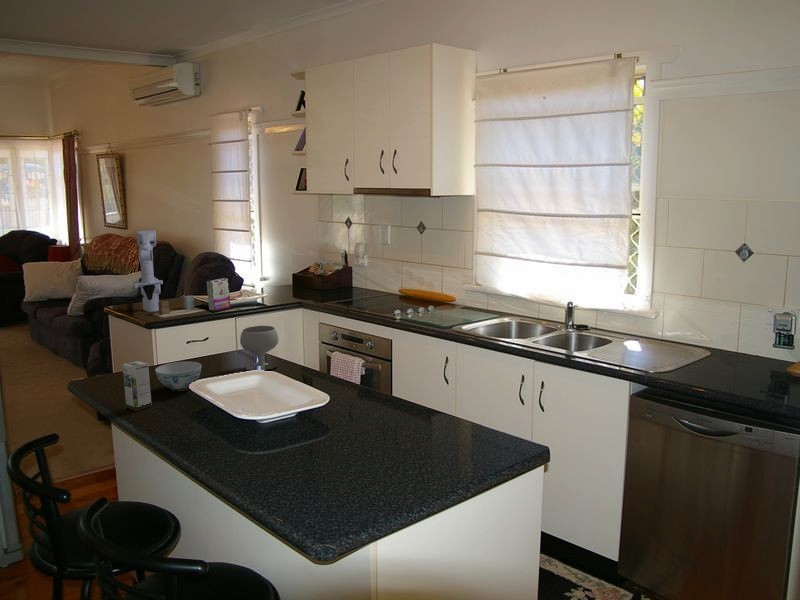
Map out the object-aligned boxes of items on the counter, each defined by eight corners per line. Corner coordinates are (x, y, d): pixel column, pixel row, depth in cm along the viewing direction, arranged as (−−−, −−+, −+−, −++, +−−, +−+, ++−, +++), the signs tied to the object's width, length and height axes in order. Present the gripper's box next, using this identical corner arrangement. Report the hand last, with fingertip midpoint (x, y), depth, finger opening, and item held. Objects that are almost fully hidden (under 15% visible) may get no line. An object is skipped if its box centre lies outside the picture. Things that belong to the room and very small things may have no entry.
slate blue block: (184, 309, 380) (183, 296, 379) (191, 308, 383) (190, 295, 381) (187, 310, 377) (186, 297, 376) (194, 308, 380) (193, 296, 378)
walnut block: (159, 314, 366) (158, 301, 365) (166, 313, 369) (165, 300, 368) (162, 315, 364) (161, 302, 362) (169, 314, 366) (168, 301, 365)
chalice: (275, 361, 271) (273, 323, 268) (283, 370, 258) (281, 330, 256) (239, 366, 266) (236, 327, 263) (245, 375, 253) (242, 335, 251)
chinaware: (165, 399, 229) (163, 376, 227) (151, 388, 241) (149, 366, 239) (209, 389, 237) (208, 367, 236) (194, 380, 249) (192, 359, 248)
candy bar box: (225, 307, 386) (222, 278, 383) (230, 308, 383) (228, 278, 380) (208, 311, 377) (206, 280, 374) (214, 311, 374) (211, 281, 371)
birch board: (152, 315, 369) (151, 314, 368) (194, 308, 384) (194, 307, 384) (163, 319, 358) (163, 317, 358) (206, 312, 374) (206, 310, 374)
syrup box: (125, 409, 220) (121, 364, 217) (142, 403, 225) (138, 360, 222) (135, 412, 216) (131, 367, 214) (152, 407, 221) (148, 362, 218)
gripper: (136, 275, 350) (139, 302, 352) (164, 272, 360) (166, 298, 362) (131, 274, 355) (133, 301, 358) (158, 271, 365) (161, 297, 367)
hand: (149, 299), depth 360 cm, fingers closed
